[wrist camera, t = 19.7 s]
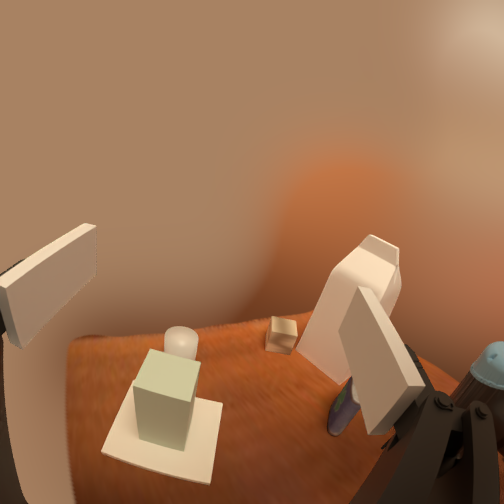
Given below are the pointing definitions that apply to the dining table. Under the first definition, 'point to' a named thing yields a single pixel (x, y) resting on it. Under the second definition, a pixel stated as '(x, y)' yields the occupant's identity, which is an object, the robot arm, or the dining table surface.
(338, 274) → the milk
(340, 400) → the flask
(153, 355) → the sage block
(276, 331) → the maple cube
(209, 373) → the dining table surface
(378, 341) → the robot arm
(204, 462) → the white tile
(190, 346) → the white cylinder
